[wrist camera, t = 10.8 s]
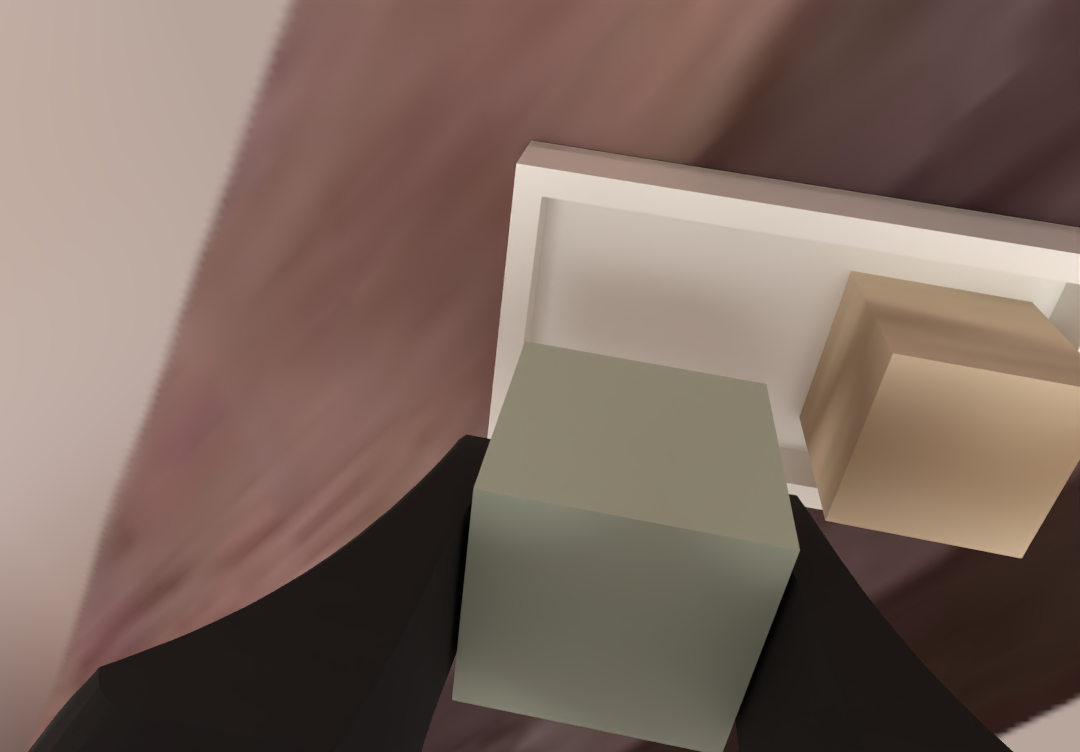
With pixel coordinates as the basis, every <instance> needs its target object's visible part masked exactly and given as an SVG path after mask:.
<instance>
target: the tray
mask: <svg viewBox="0 0 1080 752" xmlns="http://www.w3.org/2000/svg"><path fill="white" fill-rule="evenodd" d="M851 271H856V272H862V273H868V274H873V275H879V276H885V277H891V278H896V279H902V280H908V281H914V282H919V283H925V284H931V285H937V286H942V287H948V288H954V289H960V290H965V291H971V292H977V293H983V294H988V295H994V296H1000V297H1006V298H1012V299H1017V300H1023V301H1029V302H1033V304H1034V305H1035V306H1036V307H1037V308H1038V309H1039V310H1040V311H1041V312H1042V313H1043V314H1044V315H1045V316H1046V317H1047V318H1048V320H1049V321H1050V322H1051V323H1052V324H1053V325H1054V326H1055V327H1056V328H1057V329H1058V330H1059V331H1060V332H1061V333H1062V334H1063V336H1064V337H1065V338H1066V339H1067V340H1068V341H1069V342H1070V343H1071V344H1072V345H1073V346H1074V347H1075V348H1076V349H1077V350H1078V352H1079V353H1080V227H1074V226H1067V225H1061V224H1055V223H1048V222H1042V221H1036V220H1030V219H1023V218H1017V217H1011V216H1004V215H998V214H992V213H986V212H979V211H973V210H967V209H960V208H954V207H948V206H942V205H935V204H929V203H923V202H916V201H910V200H904V199H897V198H891V197H885V196H879V195H872V194H866V193H860V192H853V191H847V190H841V189H835V188H828V187H822V186H816V185H809V184H803V183H797V182H791V181H784V180H778V179H772V178H765V177H759V176H753V175H747V174H740V173H734V172H728V171H721V170H715V169H709V168H702V167H696V166H690V165H684V164H677V163H671V162H665V161H658V160H652V159H646V158H640V157H633V156H627V155H621V154H614V153H608V152H602V151H596V150H589V149H583V148H577V147H570V146H564V145H558V144H552V143H545V142H539V141H533V140H531V141H530V143H529V145H528V146H527V148H526V149H525V151H524V152H523V154H522V155H521V157H520V159H519V160H518V162H517V163H516V171H515V181H514V190H513V200H512V209H511V219H510V228H509V238H508V247H507V257H506V266H505V276H504V285H503V295H502V304H501V314H500V323H499V333H498V342H497V352H496V361H495V371H494V380H493V390H492V399H491V409H490V418H489V428H488V437H487V439H491V437H492V434H493V431H494V428H495V426H496V423H497V420H498V417H499V414H500V411H501V408H502V406H503V403H504V400H505V397H506V394H507V391H508V388H509V386H510V383H511V380H512V377H513V374H514V371H515V368H516V366H517V363H518V360H519V357H520V354H521V351H522V348H523V346H524V343H525V341H527V342H533V343H539V344H544V345H550V346H555V347H561V348H567V349H572V350H578V351H584V352H589V353H595V354H601V355H606V356H612V357H618V358H623V359H629V360H635V361H640V362H646V363H651V364H657V365H663V366H668V367H674V368H680V369H685V370H691V371H697V372H702V373H708V374H714V375H719V376H725V377H730V378H736V379H742V380H747V381H753V382H759V383H764V384H767V389H768V394H769V399H770V404H771V409H772V414H773V419H774V424H775V429H776V434H777V439H778V444H779V449H780V454H781V459H782V464H783V469H784V474H785V479H786V484H787V489H788V494H792V495H797V496H798V497H799V499H800V500H801V502H802V503H803V505H804V506H805V507H809V508H815V509H820V510H823V509H822V505H821V501H820V497H819V493H818V489H817V486H816V482H815V478H814V474H813V470H812V466H811V462H810V458H809V454H808V450H807V446H806V442H805V438H804V434H803V430H802V426H801V422H800V418H799V417H800V414H801V411H802V409H803V406H804V403H805V400H806V397H807V394H808V392H809V389H810V386H811V383H812V380H813V377H814V375H815V372H816V369H817V366H818V363H819V360H820V358H821V355H822V352H823V349H824V346H825V343H826V341H827V338H828V335H829V332H830V329H831V326H832V324H833V321H834V318H835V315H836V312H837V309H838V307H839V304H840V301H841V298H842V295H843V292H844V290H845V287H846V284H847V281H848V278H849V275H850V273H851Z"/></svg>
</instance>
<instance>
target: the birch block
mask: <svg viewBox="0 0 1080 752" xmlns="http://www.w3.org/2000/svg"><path fill="white" fill-rule="evenodd" d="M799 418H800V422H801V426H802V430H803V434H804V438H805V442H806V446H807V450H808V454H809V458H810V462H811V466H812V470H813V474H814V478H815V482H816V486H817V489H818V493H819V497H820V501H821V505H822V509H823V513H824V517H825V521H830V522H835V523H841V524H846V525H851V526H856V527H861V528H866V529H872V530H877V531H882V532H887V533H892V534H898V535H903V536H908V537H913V538H918V539H924V540H929V541H934V542H939V543H944V544H950V545H955V546H960V547H965V548H970V549H975V550H981V551H986V552H991V553H996V554H1001V555H1007V556H1012V557H1017V558H1022V557H1023V555H1024V553H1025V552H1026V550H1027V548H1028V547H1029V545H1030V543H1031V541H1032V540H1033V538H1034V536H1035V535H1036V533H1037V531H1038V530H1039V528H1040V526H1041V524H1042V523H1043V521H1044V519H1045V518H1046V516H1047V514H1048V512H1049V511H1050V509H1051V507H1052V506H1053V504H1054V502H1055V501H1056V499H1057V497H1058V495H1059V494H1060V492H1061V490H1062V489H1063V487H1064V485H1065V483H1066V482H1067V480H1068V478H1069V477H1070V475H1071V473H1072V472H1073V470H1074V468H1075V466H1076V465H1077V463H1078V461H1079V460H1080V353H1079V352H1078V350H1077V349H1076V348H1075V347H1074V346H1073V345H1072V344H1071V343H1070V342H1069V341H1068V340H1067V339H1066V338H1065V337H1064V336H1063V334H1062V333H1061V332H1060V331H1059V330H1058V329H1057V328H1056V327H1055V326H1054V325H1053V324H1052V323H1051V322H1050V321H1049V320H1048V318H1047V317H1046V316H1045V315H1044V314H1043V313H1042V312H1041V311H1040V310H1039V309H1038V308H1037V307H1036V306H1035V305H1034V304H1033V302H1029V301H1023V300H1017V299H1012V298H1006V297H1000V296H994V295H988V294H983V293H977V292H971V291H965V290H960V289H954V288H948V287H942V286H937V285H931V284H925V283H919V282H914V281H908V280H902V279H896V278H891V277H885V276H879V275H873V274H868V273H862V272H856V271H851V273H850V275H849V278H848V281H847V284H846V287H845V290H844V292H843V295H842V298H841V301H840V304H839V307H838V309H837V312H836V315H835V318H834V321H833V324H832V326H831V329H830V332H829V335H828V338H827V341H826V343H825V346H824V349H823V352H822V355H821V358H820V360H819V363H818V366H817V369H816V372H815V375H814V377H813V380H812V383H811V386H810V389H809V392H808V394H807V397H806V400H805V403H804V406H803V409H802V411H801V414H800V417H799Z"/></svg>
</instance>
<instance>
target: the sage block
mask: <svg viewBox="0 0 1080 752" xmlns="http://www.w3.org/2000/svg"><path fill="white" fill-rule="evenodd" d="M799 552H800V548H799V543H798V538H797V533H796V528H795V523H794V518H793V513H792V508H791V503H790V499H789V494H788V489H787V484H786V479H785V474H784V469H783V464H782V459H781V454H780V449H779V444H778V439H777V434H776V429H775V424H774V419H773V414H772V409H771V404H770V399H769V394H768V389H767V384H764V383H759V382H753V381H747V380H742V379H736V378H730V377H725V376H719V375H714V374H708V373H702V372H697V371H691V370H685V369H680V368H674V367H668V366H663V365H657V364H651V363H646V362H640V361H635V360H629V359H623V358H618V357H612V356H606V355H601V354H595V353H589V352H584V351H578V350H572V349H567V348H561V347H555V346H550V345H544V344H539V343H533V342H527V341H525V343H524V346H523V348H522V351H521V354H520V357H519V360H518V363H517V366H516V368H515V371H514V374H513V377H512V380H511V383H510V386H509V388H508V391H507V394H506V397H505V400H504V403H503V406H502V408H501V411H500V414H499V417H498V420H497V423H496V426H495V428H494V431H493V434H492V437H491V440H490V443H489V445H488V448H487V451H486V454H485V457H484V460H483V463H482V465H481V468H480V471H479V474H478V477H477V480H476V483H475V485H474V488H473V498H472V507H471V517H470V527H469V537H468V547H467V557H466V567H465V577H464V587H463V596H462V606H461V616H460V626H459V636H458V646H457V656H456V666H455V676H454V685H453V695H452V700H455V701H460V702H465V703H470V704H474V705H479V706H484V707H489V708H494V709H499V710H503V711H508V712H513V713H518V714H523V715H528V716H532V717H537V718H542V719H547V720H552V721H557V722H562V723H566V724H571V725H576V726H581V727H586V728H591V729H595V730H600V731H605V732H610V733H615V734H620V735H624V736H629V737H634V738H639V739H644V740H649V741H653V742H658V743H663V744H668V745H673V746H678V747H682V748H687V749H692V750H697V751H702V752H723V749H724V747H725V744H726V742H727V739H728V736H729V734H730V731H731V729H732V726H733V723H734V721H735V718H736V716H737V713H738V710H739V708H740V705H741V703H742V700H743V697H744V695H745V692H746V690H747V687H748V684H749V682H750V679H751V677H752V674H753V671H754V669H755V666H756V664H757V661H758V658H759V656H760V653H761V650H762V648H763V645H764V643H765V640H766V637H767V635H768V632H769V630H770V627H771V624H772V622H773V619H774V617H775V614H776V611H777V609H778V606H779V604H780V601H781V598H782V596H783V593H784V591H785V588H786V585H787V583H788V580H789V578H790V575H791V572H792V570H793V567H794V565H795V562H796V559H797V557H798V554H799Z"/></svg>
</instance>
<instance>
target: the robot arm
mask: <svg viewBox="0 0 1080 752" xmlns="http://www.w3.org/2000/svg"><path fill="white" fill-rule="evenodd" d="M490 440H491V439H487V438H482V437H476V436H471V435H466V436H464V437H462V438H461V439H459V440H458V442H457V443H456V444H455V445H454V446H453V448H452V449H451V450H450V451H449V452H448V453H447V454H446V455H445V456H444V458H443V459H442V460H441V461H440V462H439V463H438V464H437V465H436V466H435V467H434V468H433V469H432V470H431V471H430V472H429V473H428V474H427V475H426V476H425V477H424V478H423V479H422V480H421V481H420V482H419V483H418V484H417V485H416V486H415V487H414V488H413V489H411V490H410V491H409V492H408V493H407V494H406V495H405V496H404V497H403V498H402V499H401V500H400V501H399V502H398V503H396V504H395V505H394V506H393V507H392V508H391V509H390V510H388V511H387V512H386V513H385V514H384V515H382V516H381V517H380V518H379V519H377V520H376V521H375V522H374V523H373V524H371V525H370V526H369V527H368V528H366V529H365V530H364V531H363V532H362V533H360V534H359V535H358V536H357V537H355V538H354V539H353V540H351V541H350V542H349V543H347V544H346V545H345V546H343V547H342V548H341V549H339V550H338V551H336V552H335V553H334V554H332V555H331V556H329V557H328V558H326V559H325V560H323V561H322V562H320V563H319V564H317V565H316V566H314V567H313V568H311V569H310V570H308V571H307V572H305V573H304V574H302V575H300V576H299V577H297V578H295V579H294V580H292V581H290V582H289V583H287V584H285V585H284V586H282V587H280V588H279V589H277V590H275V591H274V592H272V593H270V594H268V595H267V596H265V597H263V598H261V599H259V600H258V601H256V602H254V603H252V604H250V605H248V606H246V607H244V608H242V609H240V610H238V611H236V612H234V613H232V614H230V615H228V616H226V617H224V618H222V619H219V620H217V621H215V622H213V623H211V624H209V625H207V626H204V627H202V628H200V629H198V630H195V631H193V632H191V633H188V634H186V635H184V636H181V637H179V638H177V639H174V640H172V641H169V642H166V643H164V644H161V645H158V646H156V647H153V648H150V649H148V650H145V651H143V652H140V653H137V654H135V655H132V656H129V657H127V658H124V659H121V660H119V661H116V662H113V663H110V664H107V665H104V666H101V667H99V668H98V669H97V670H96V672H95V673H94V674H93V675H92V676H91V677H90V679H89V680H88V681H87V682H86V683H85V684H84V685H83V686H82V687H81V688H80V689H79V690H78V691H77V692H76V693H75V694H74V695H73V696H72V697H71V698H70V699H69V701H68V702H67V703H66V704H65V705H64V707H63V708H62V709H61V710H60V711H59V712H58V714H57V715H56V716H55V717H54V719H53V720H52V721H51V723H50V724H49V725H48V727H47V728H46V729H45V730H44V732H43V733H42V734H41V736H40V737H39V738H38V739H37V741H36V742H35V743H34V745H33V746H32V747H31V748H30V750H29V751H28V752H421V751H422V747H423V744H424V740H425V737H426V734H427V731H428V728H429V725H430V722H431V719H432V716H433V713H434V710H435V708H436V705H437V702H438V700H439V697H440V694H441V692H442V689H443V686H444V684H445V681H446V679H447V676H448V673H449V671H450V668H451V665H452V663H453V660H454V658H455V655H456V652H457V646H458V636H459V626H460V616H461V606H462V596H463V587H464V577H465V567H466V557H467V547H468V537H469V527H470V517H471V507H472V498H473V488H474V485H475V483H476V480H477V477H478V474H479V471H480V468H481V465H482V463H483V460H484V457H485V454H486V451H487V448H488V445H489V443H490ZM789 499H790V503H791V508H792V513H793V518H794V523H795V528H796V533H797V538H798V543H799V548H800V552H799V554H798V557H797V559H796V562H795V565H794V567H793V570H792V572H791V575H790V578H789V580H788V583H787V585H786V588H785V591H784V593H783V596H782V598H781V601H780V604H779V606H778V609H777V611H776V614H775V617H774V619H773V622H772V624H771V627H770V630H769V632H768V635H767V637H766V640H765V643H764V645H763V648H762V650H761V653H760V656H759V658H758V661H757V664H756V666H755V669H754V671H753V674H752V677H751V679H750V682H749V684H748V687H747V690H746V692H745V695H744V697H743V700H742V703H741V705H740V708H739V710H738V713H737V716H736V718H735V720H736V728H737V736H738V744H739V752H1013V751H1011V750H1010V748H1008V747H1007V746H1006V745H1005V744H1004V743H1003V742H1002V741H1001V740H1000V739H999V738H997V737H996V736H995V735H994V734H993V733H992V732H991V731H990V730H989V729H988V728H986V727H985V726H984V725H983V724H982V723H981V722H980V721H979V720H978V719H977V718H976V717H975V716H974V715H973V714H972V713H971V712H970V711H969V710H968V709H967V708H965V707H964V706H963V705H962V704H961V703H960V702H959V701H958V700H957V699H956V697H955V696H954V695H953V694H952V693H951V692H950V691H949V690H948V689H947V688H946V687H945V686H944V685H943V684H942V683H941V682H940V681H939V680H938V679H937V678H936V677H935V676H934V674H933V673H932V672H931V671H930V670H929V669H928V668H927V667H926V666H925V665H924V664H923V663H922V662H921V661H920V659H919V658H918V657H917V656H916V655H915V654H914V653H913V652H912V650H911V649H910V648H909V647H908V646H907V645H906V643H905V642H904V641H903V640H902V639H901V637H900V636H899V635H898V634H897V633H896V631H895V630H894V629H893V628H892V627H891V625H890V624H889V623H888V622H887V620H886V619H885V618H884V617H883V616H882V614H881V613H880V612H879V611H878V609H877V608H876V607H875V605H874V604H873V603H872V602H871V600H870V599H869V598H868V596H867V595H866V594H865V592H864V591H863V590H862V588H861V587H860V586H859V584H858V583H857V582H856V580H855V579H854V577H853V576H852V575H851V573H850V572H849V571H848V569H847V568H846V566H845V565H844V564H843V562H842V561H841V559H840V558H839V556H838V555H837V553H836V552H835V551H834V549H833V548H832V546H831V545H830V543H829V542H828V540H827V539H826V537H825V536H824V534H823V533H822V531H821V530H820V528H819V527H818V525H817V524H816V523H815V521H814V520H813V518H812V517H811V515H810V514H809V512H808V511H807V509H806V508H805V506H804V505H803V503H802V502H801V500H800V499H799V497H798V496H797V495H792V494H789Z"/></svg>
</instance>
